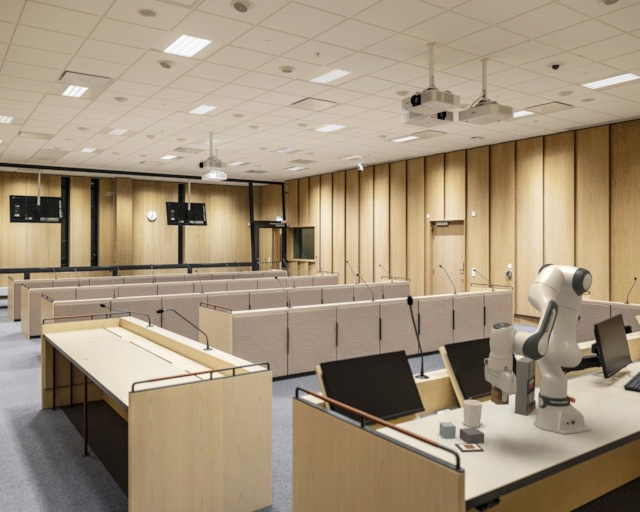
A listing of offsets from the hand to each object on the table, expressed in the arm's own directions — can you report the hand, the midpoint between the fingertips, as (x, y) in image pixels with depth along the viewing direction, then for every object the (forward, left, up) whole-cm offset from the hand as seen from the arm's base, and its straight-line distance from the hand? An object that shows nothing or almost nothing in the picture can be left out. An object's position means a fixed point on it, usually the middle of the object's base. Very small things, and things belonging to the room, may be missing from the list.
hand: (499, 398), depth 209 cm
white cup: (+1, -23, -19) cm, 30 cm away
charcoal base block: (+9, -6, -19) cm, 22 cm away
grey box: (-33, -39, -19) cm, 54 cm away
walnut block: (0, 0, -2) cm, 2 cm away
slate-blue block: (+17, -11, -19) cm, 28 cm away
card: (+13, +2, -19) cm, 23 cm away
